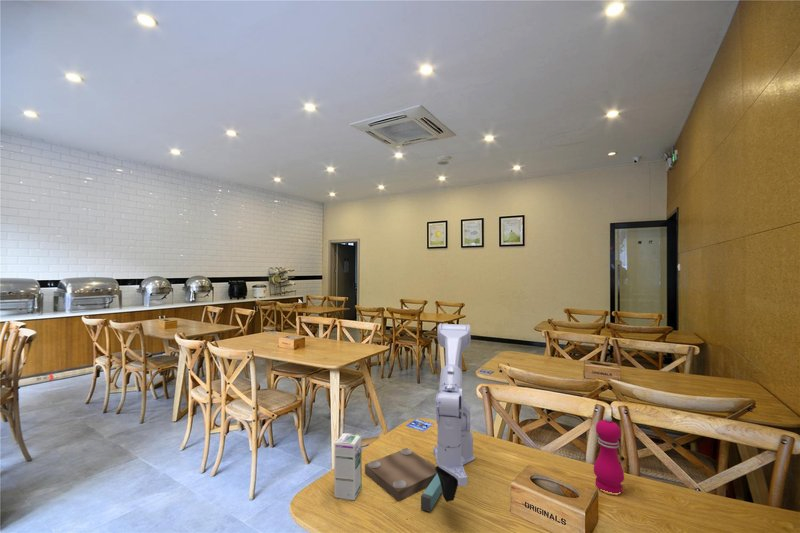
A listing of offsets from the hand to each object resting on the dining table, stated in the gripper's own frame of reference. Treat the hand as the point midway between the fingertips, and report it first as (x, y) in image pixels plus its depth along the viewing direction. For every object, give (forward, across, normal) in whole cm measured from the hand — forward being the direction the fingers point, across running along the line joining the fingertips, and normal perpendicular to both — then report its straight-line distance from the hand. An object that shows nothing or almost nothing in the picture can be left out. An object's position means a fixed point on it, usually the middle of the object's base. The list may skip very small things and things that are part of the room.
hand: (448, 499), depth 83 cm
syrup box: (+5, +17, +22) cm, 28 cm away
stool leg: (+4, +9, 0) cm, 10 cm away
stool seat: (+4, +20, +5) cm, 21 cm away
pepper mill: (+4, -3, -47) cm, 48 cm away
